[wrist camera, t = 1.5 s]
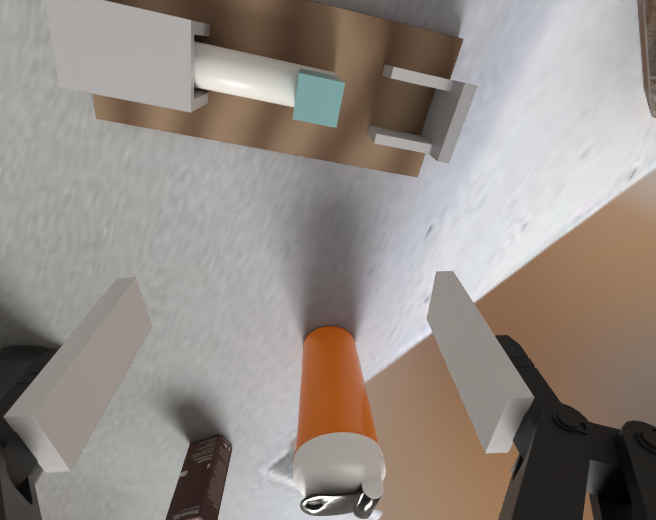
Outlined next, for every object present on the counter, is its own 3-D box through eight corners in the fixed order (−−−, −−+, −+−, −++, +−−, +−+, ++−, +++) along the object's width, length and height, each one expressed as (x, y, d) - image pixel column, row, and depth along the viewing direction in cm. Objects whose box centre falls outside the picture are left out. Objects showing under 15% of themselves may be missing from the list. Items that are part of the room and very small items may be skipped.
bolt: (94, 63, 29) (21, 68, 21) (88, 16, 27) (7, 5, 20) (328, 111, 32) (335, 130, 24) (335, 71, 30) (345, 79, 23)
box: (218, 432, 57) (199, 517, 47) (233, 446, 59) (218, 530, 49) (186, 442, 58) (161, 528, 48) (202, 456, 60) (181, 541, 50)
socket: (367, 134, 33) (378, 149, 28) (384, 64, 30) (400, 68, 25) (427, 146, 34) (448, 163, 29) (449, 79, 31) (477, 85, 26)
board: (102, 116, 32) (96, 118, 31) (82, -55, 26) (73, -59, 25) (414, 173, 36) (417, 177, 35) (458, 39, 30) (463, 38, 29)
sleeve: (97, 80, 29) (58, 87, 25) (87, -4, 27) (41, -15, 22) (208, 102, 31) (190, 112, 26) (209, 24, 28) (190, 20, 23)
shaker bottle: (297, 319, 46) (292, 482, 28) (365, 320, 46) (400, 480, 29) (295, 367, 50) (290, 533, 33) (357, 367, 51) (384, 529, 34)
